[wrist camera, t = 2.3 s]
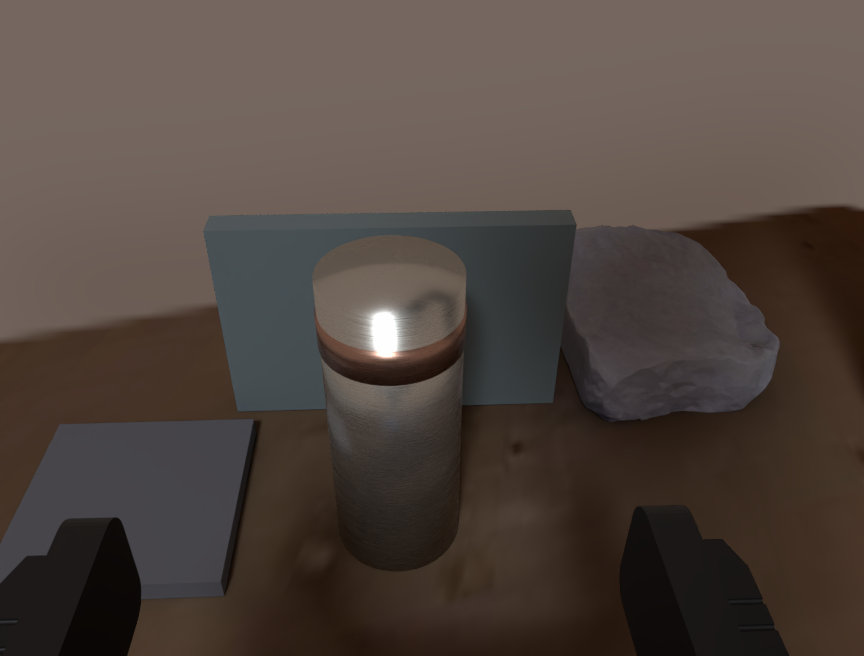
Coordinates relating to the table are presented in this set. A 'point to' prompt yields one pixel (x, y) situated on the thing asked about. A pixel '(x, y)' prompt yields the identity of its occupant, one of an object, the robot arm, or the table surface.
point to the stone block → (660, 327)
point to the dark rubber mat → (144, 497)
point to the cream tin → (393, 394)
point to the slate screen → (320, 233)
